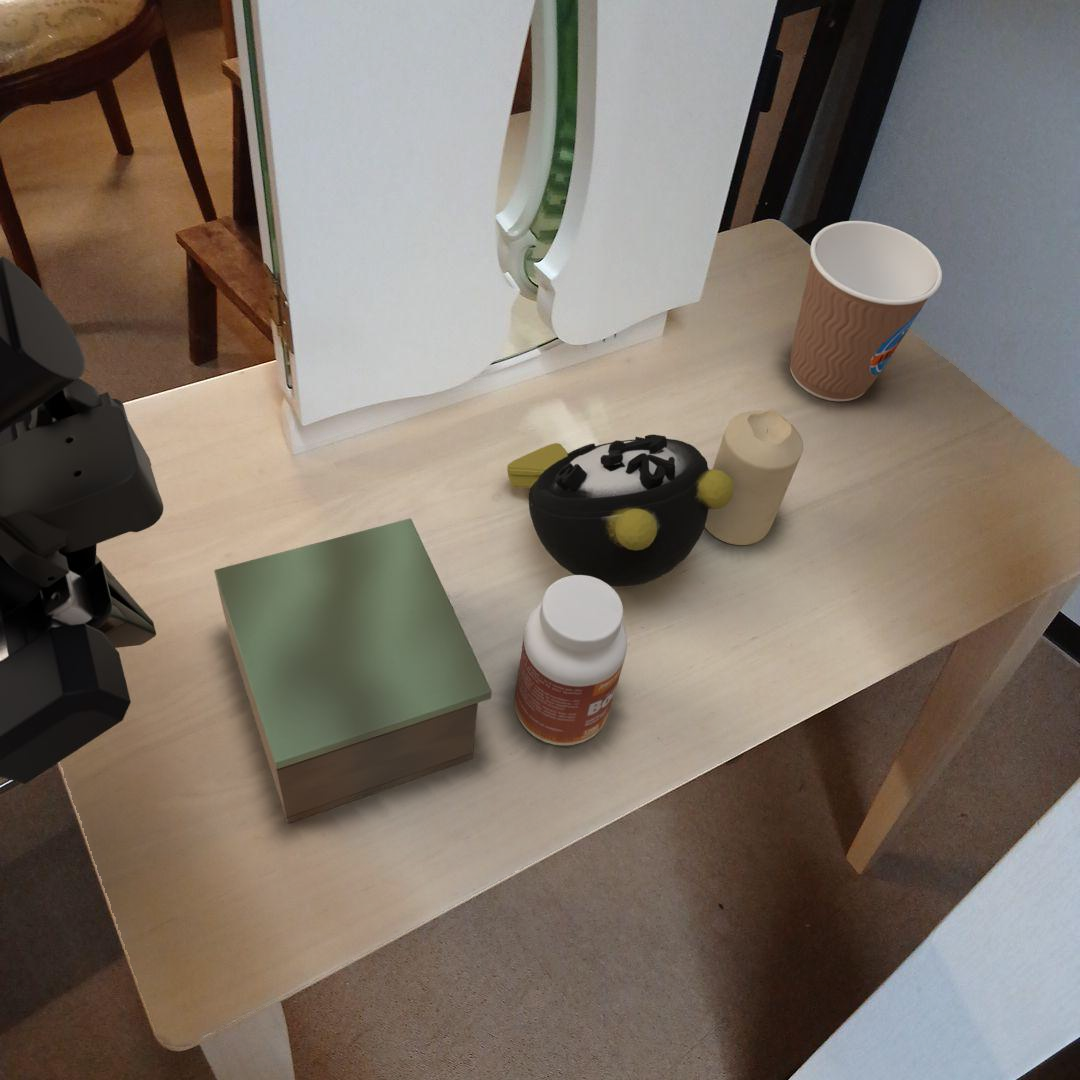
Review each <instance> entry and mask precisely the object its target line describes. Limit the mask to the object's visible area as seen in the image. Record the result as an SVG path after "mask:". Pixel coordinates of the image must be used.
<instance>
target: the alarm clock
mask: <svg viewBox="0 0 1080 1080" xmlns="http://www.w3.org/2000/svg"><path fill="white" fill-rule="evenodd" d="M506 466H507V468H506V469H507V470H506V471H507V475H508V479H509V483H510V485H511V486H512V487H513V488H522V489H523V488H524V489H526V488H527V489H529V492H528V511H529V516H530V518H531V522H532V526H533V529H534V531H535V533H536V535H537V538H538V539H539V541H540V543H541V544H542V546H543V547H544V549H545V550H546V551H547V553H548V554H549V555H550V556H551V557H552V558H553V559H554V561H555V562H557V563H558V564H559V565H560V566H561V567H562V568H563V569H565V570H566V571H567V572H569V573H570V574H572V575H585V576H591V577H594V578H597V579H600V580H602V581H603V582H605V583H607V584H608V585H609V586H611V587H612V588H613V587H614V588H622V587H635V586H639V585H644V584H647V583H649V582H653V581H655V580H657V579H659V578H662V577H663V576H665V575H667V574H668V573H670V572H671V571H673V570H674V569H675V568H676V567H678V565H680V564H681V563H682V562H683V561H684V560H685V559H686V558H687V557H688V556H689V555H690V554H691V552H692V551H693V549H694V547H695V546H696V545H697V543H698V542H699V540H700V538H701V536H702V534H703V531H704V530H705V523H706V519H707V515H708V510H709V509H719V508H721V507H723V506H725V505H727V504H728V502H729V501H730V500H731V499H732V495H733V491H734V487H733V482H732V480H731V478H730V477H729V476H728V475H727V474H726V473H725V472H723V471H721V470H716V469H712V468H711V469H710V468H709V465H708V461H707V459H706V457H704V456H703V455H702V453H701V451H699V450H698V449H697V448H696V447H695V446H693V445H692V444H690V443H688V442H686V441H682V440H679V439H672V438H667V436H665V435H660V434H647V435H645V436H644V437H640V436H635V437H634V439H626V440H618V439H617V440H614V441H612V442H605V443H601V444H598V445H596V444H595V443H589V444H586V445H583V446H580V447H578V448H576V449H573V450H572V451H570V452H567V450H566V448H564V446H563V445H562V444H561V443H558V442H555V443H550V444H548V445H545V446H543V447H540V448H538V449H536V450H533V451H532V452H529V453H527V454H525V455H523V456H521V457H518V458H515V459H514V460H512V461H510V463H508V464H507V465H506Z"/></svg>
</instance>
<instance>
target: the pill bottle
mask: <svg viewBox="0 0 1080 1080" xmlns="http://www.w3.org/2000/svg"><path fill="white" fill-rule="evenodd" d="M623 618H624V607H623V602H622V600H621V597H620V595H619V594H618V593H617V591H616V590H615V589H614V588H613V587H611V586H609V585H608V584H607V583H605V582H603V581H602V580H600V579H597V578H594V577H591V576H585V575H574V574H572V575H568V576H564V577H561V578H559V579H557V580H556V581H554V582H552V584H550V586H549V587H548V588H547V589H546V591H545V592H544V594H543V597H542V601H541V603H540V604H538V605H537V606H536V608H535V609H534V610H533V611H532V612H531V613H530V615H529V616H528V619H527V621H526V624H525V627H524V633H523V638H522V645H521V651H520V658H519V665H518V669H517V670H518V671H517V676H516V677H517V678H516V684H515V689H514V708H515V713H516V715H517V717H518V720H519V721H520V723H521V724H522V726H523V727H524V729H526V731H528V733H529V734H531V735H532V736H533V737H535V738H536V739H538V740H540V741H542V742H544V743H547V744H551V745H556V746H573V745H574V746H575V745H578V744H582V743H584V742H586V741H588V740H590V739H592V738H593V737H594V736H595V735H597V734H598V733H599V732H600V731H601V730H602V728H603V727H604V725H605V723H606V722H607V720H608V716H609V715H610V711H611V708H612V704H613V700H614V697H615V694H616V690H617V688H618V684H619V680H620V678H621V674H622V669H623V665H624V663H625V659H626V655H627V650H628V635H627V631H626V627H625V625H624V622H623Z"/></svg>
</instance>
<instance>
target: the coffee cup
mask: <svg viewBox="0 0 1080 1080" xmlns="http://www.w3.org/2000/svg"><path fill="white" fill-rule="evenodd" d="M809 250H810V262H809V267H808V270H807V276H806V280H805V286H804V291H803V295H802V298H801V299H802V300H801V304H800V309H799V314H798V318H797V323H796V327H795V331H794V337H793V341H792V345H791V350H790V364H789V370H790V372H791V375H792V378H793V380H794V381H795V382H796V383H797V384H798V386H799V387H801V389H803V390H804V391H805V392H807V393H809V394H810V395H812V396H814V397H817V398H819V399H822V400H825V401H831V402H849V401H854V400H856V399H859V398H861V396H863V395H864V394H865V393H866V392H867V390H868V389H869V387H871V386H872V385H874V383H875V381H876V380H877V378H878V376H879V375H880V374H881V373H882V371H883V370H884V368H885V366H886V365H887V363H888V362H889V360H890V359H891V357H892V355H893V354H894V353H895V351H896V349H897V348H898V346H899V345H900V343H901V342H902V340H903V339H904V337H905V336H906V334H907V332H908V331H909V330H910V328H911V326H912V325H913V323H914V322H915V320H916V318H917V317H918V315H919V314H920V313H921V311H922V309H923V308H924V305H925V304H926V303H927V300H928V299H929V298H930V297H932V296H933V295H934V294H935V293H936V292H937V291H938V290H939V288H940V286H941V284H942V279H943V272H942V267H941V265H940V262H939V260H938V259H937V257H936V255H935V254H934V253H933V252H932V251H931V250H930V248H929V247H927V246H926V245H925V244H923V243H922V242H921V241H920V240H919V239H917V238H916V237H914V236H912V235H910V234H909V233H906V232H905V231H903V230H900V229H898V228H895V227H893V226H889V225H887V224H883V223H878V222H872V221H866V220H847V221H846V220H845V221H840V222H835V223H832V224H830V225H827V226H825V227H823V228H822V229H821V230H819V231H818V232H817V233H816V234H815V236H814V237H813V239H812V241H811V244H810V249H809Z"/></svg>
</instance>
